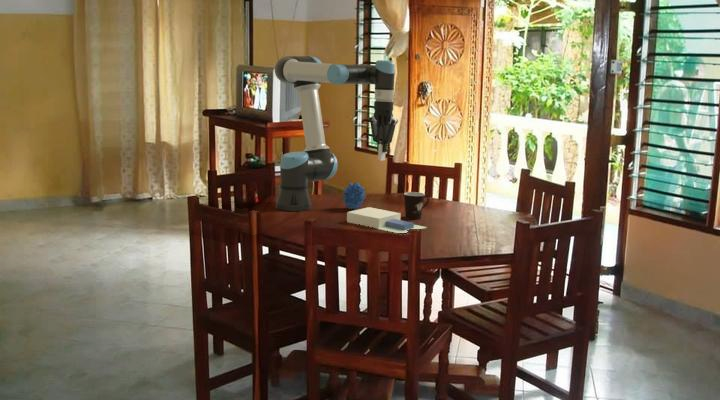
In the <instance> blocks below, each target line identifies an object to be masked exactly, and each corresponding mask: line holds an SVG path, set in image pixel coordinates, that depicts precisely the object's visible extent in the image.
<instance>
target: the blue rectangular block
mask: <svg viewBox="0 0 720 400" xmlns="http://www.w3.org/2000/svg"><path fill="white" fill-rule="evenodd" d="M414 225H415V223H414V222H411V221H406V220H402V219H400V220H397V219H394V220H390V221H386V227H391V228H395V229H400V230H408V229H412V228H414Z"/></svg>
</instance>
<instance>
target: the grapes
mask: <svg viewBox="0 0 720 400" xmlns="http://www.w3.org/2000/svg"><path fill="white" fill-rule="evenodd" d="M364 192H365V188H364V186H362V185H360V183H359V182H354V183H352V182H349V183H348V184H347V187H346V188H344V189H343V195H344V196H343V197H342V202H344V203H345V207H346V208H347V209H350V208H351V209H352V211H354V210H357V208H358V207H362V206H363V203H364V200H365V199H366V193H364Z"/></svg>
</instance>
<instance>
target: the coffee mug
mask: <svg viewBox="0 0 720 400" xmlns="http://www.w3.org/2000/svg"><path fill="white" fill-rule="evenodd" d="M425 198H426V199H427V201H426V202H425ZM403 201H404V211H405V219H407V220H412V219H413V220H414V221H415V220H416V221H417V220H420V219H421V220H422V214H423V209H424V208H425V207H426V206H427V205H428V204H429V202H430V196H428V195H426V194H425V193H423V192H416V191H406V192H404V193H403ZM424 203H425V204H424ZM413 220H412V221H413Z"/></svg>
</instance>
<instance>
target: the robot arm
mask: <svg viewBox="0 0 720 400" xmlns="http://www.w3.org/2000/svg"><path fill="white" fill-rule="evenodd" d="M395 66H396V63H395V62H394V61H393V60H380V59H379V60H376V61H375V64H365V63H360V64H340V63H325V62H322V61H321V60H320V59H319V58H318V57H315V56H310V55H306V56H305V55H302V56H301V55H297V56H296V55H287V56H282V57H280V59H278V60H277V62H275V66H274V74H275V77H276V78H277V79H278V80H279V81H280V82H282V83H284V84H288V85H289V84H291V85H293V88H294V91H296V92H297V94H298V99H299V105H300V113H301V118H302V128H303V135H304V141H305V142H304V143H305V148H304V150H303V151H291V152H287V153H284V154H282V156H281V157H280V163H279V168H280V170H279V171H280V172H279V180H280V181H279V192H278V195H277V199H276V201H275V208H276V209H277V210H280V211H285V212H286V211H288V212H300V211H301V212H302V211H307V210H311V209H312V201H311V198H310V195H309V190H308V183H309V182H318V181H326V180H329V179H332V178H333V177H334V176H335V174H336V173H337V170H338V163H339V162H338V159H337V156H335V154H334V153H332V152H331V148H330V147H329V146H328V145H327V144H326V138H325V137H326V136H325V130H324V122H323V116H322V108H321V101H320V95H319V94H320V93H319V89H320V88H321V85H322V84H321V83H325V84H326V83H328V84H333V85H365V84H366V85H374V102H373V110H374V113H373V115H372V116H370V117H368V120H369V123H370V129H371V134H372V135H371V136H372V142H374V143H376V145H377V147H376V152H377V161H380V162H382V161H386V153H387V151H388V144H392V142H393V138H394V133H395V129H396V126H397V124H398V123H399V120H398V119H397V118H394V114H393V110H394V99H395V98H394V96H395V75H396V69H395V68H396V67H395Z"/></svg>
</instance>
